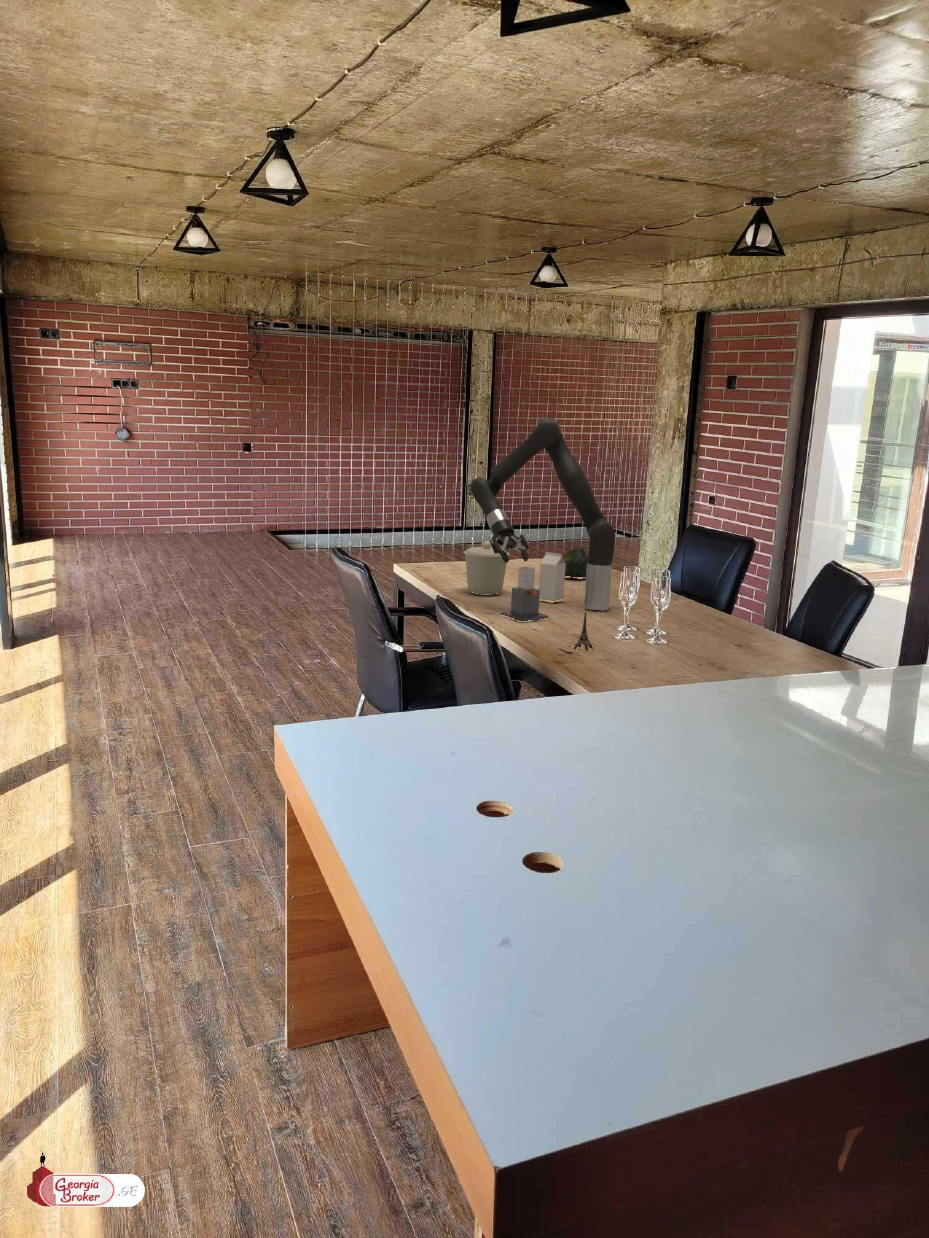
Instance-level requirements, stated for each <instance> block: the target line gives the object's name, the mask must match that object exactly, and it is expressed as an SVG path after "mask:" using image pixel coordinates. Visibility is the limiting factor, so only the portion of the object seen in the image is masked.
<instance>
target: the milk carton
mask: <svg viewBox="0 0 929 1238" xmlns="http://www.w3.org/2000/svg"><path fill="white" fill-rule="evenodd" d="M562 555H563V554H562V553H556V552H549V551H545V555H544V556H543V558H542V560H541V561H540V565H539V566H540V567H539V578H538V579H539V581H538V590H540V595H539V599H543V600H551V601H556V600H560V599H563V600H564V596H565V595H564V594H565V582H566V581H565V580H566V579H565V565H566V563H565V562H564V560H563V558H562Z"/></svg>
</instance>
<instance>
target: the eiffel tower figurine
mask: <svg viewBox="0 0 929 1238" xmlns="http://www.w3.org/2000/svg"><path fill="white" fill-rule="evenodd" d="M587 613H588V612H587V611H585V612H584V617H583V623H582V630H581V633H580V637H579V639H577V642H576V643H575V644H574V645H575V647H574V648H573V649H575V650H576V648H577V646H578V647H581V644H583V645H584V646H585V650H586V651H589V650H588V648H592V649H593V647H592V645H591V644H592V643H591V642H590V639H589V637H588V632H587ZM588 645H589V646H588ZM565 647H566V646H565ZM567 647H571V646H567ZM575 650H574V651H575ZM579 650H580V649H579ZM565 653H566V654H568V653H567V652H565Z"/></svg>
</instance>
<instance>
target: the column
mask: <svg viewBox="0 0 929 1238" xmlns="http://www.w3.org/2000/svg"><path fill="white" fill-rule="evenodd" d="M535 572H536V568H534V567H531V566H520V567H518V577H517V578H518V580H517V587H518V589H521V590H524V591H525V590H534V588H535V576H536V575H535V574H536V573H535Z"/></svg>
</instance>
